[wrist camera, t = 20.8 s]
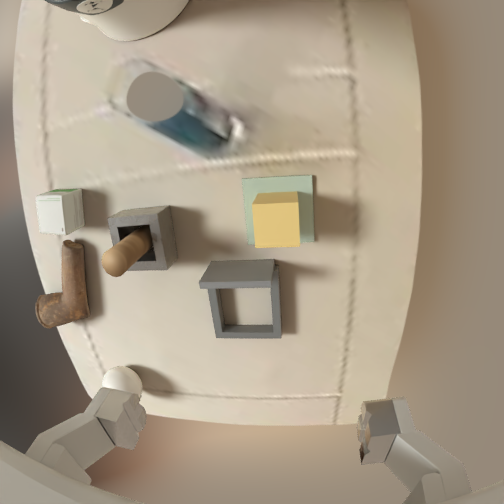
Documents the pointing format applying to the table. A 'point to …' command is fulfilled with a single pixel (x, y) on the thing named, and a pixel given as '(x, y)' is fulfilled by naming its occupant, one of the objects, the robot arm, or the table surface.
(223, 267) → the case
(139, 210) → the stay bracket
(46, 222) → the small box
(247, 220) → the pad
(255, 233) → the block
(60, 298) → the pipe
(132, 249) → the rod
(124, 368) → the white ovoid
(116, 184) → the table surface
